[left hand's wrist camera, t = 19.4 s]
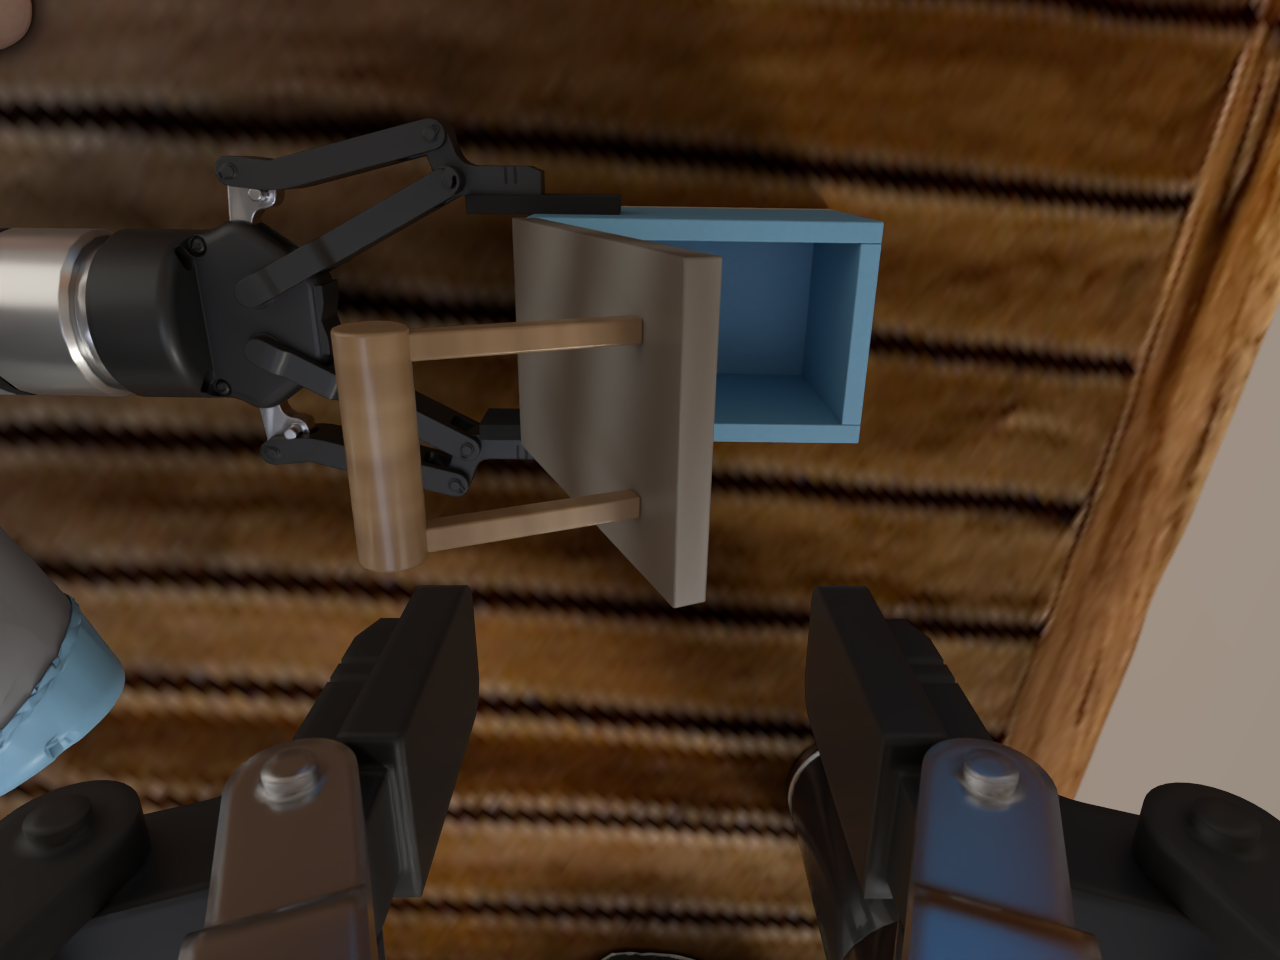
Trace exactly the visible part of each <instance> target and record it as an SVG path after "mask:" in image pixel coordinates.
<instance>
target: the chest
mask: <svg viewBox="0 0 1280 960" xmlns="http://www.w3.org/2000/svg"><path fill="white" fill-rule="evenodd" d="M527 218H540V219H545V220H550V221H555V222H559V223H564V224H569V225H574V226H579V227H583V228H588V229H593V230H598V231H602V232H607V233H612V234H617V235H622V236H626V237H631V238H636V239H641V240H645V241H650V242H655V243H660V244H665V245H669V246H674V247H679V248H684V249H688V250H693V251H698V252H703V253H708V254H712V255H717V256H721V257H722V274H721V295H720V315H719V336H718V356H717V377H716V397H715V418H714V438H713V441H726V442H806V443H858V441H859V432H860V423H861V414H862V406H863V397H864V389H865V380H866V372H867V363H868V354H869V346H870V337H871V329H872V320H873V312H874V303H875V294H876V286H877V277H878V269H879V260H880V252H881V244H880V243H881V242H882V233H883V225H884V223H883V222H881V221H877V220H872V219H868V218H864V217H860V216H855V215H851V214H847V213H842V212H838V211H834V210H832V209H798V208H730V207H661V206H621V213H620V215H577V214H533V215H531V216H528V217H527Z"/></svg>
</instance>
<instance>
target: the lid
mask: <svg viewBox="0 0 1280 960" xmlns="http://www.w3.org/2000/svg"><path fill="white" fill-rule="evenodd" d="M512 230H513V254H514V279H515V303H516V322H508V323H492V324H476V325H459V326H443V327H427V328H410V329H409V328H408V326H407V325H406V324H403V323H399V322H393V321H359V322H351V323H345V324H341V325H338V326H335V327H333V328H332V329H331V332H330V333H331V341H332V349H333V357H334V365H335V373H336V381H337V390H338V398H339V406H340V414H341V422H342V430H343V438H344V446H345V454H346V462H347V470H348V479H349V487H350V495H351V503H352V511H353V519H354V527H355V535H356V543H357V551H358V559H359V563H360V564H361V566H362V567H363V568H365V569H367V570H369V571H373V572H380V573H392V572H400V571H405V570H408V569H411V568H414V567H416V566H418V565H420V564H422V563H423V562H424V561H425V560H426V559H427V557H428V554H429V552H434V551H440V550H446V549H452V548H458V547H464V546H470V545H476V544H482V543H489V542H495V541H501V540H507V539H513V538H519V537H525V536H531V535H537V534H543V533H549V532H555V531H561V530H568V529H574V528H580V527H586V526H592V525H597V526H598V528H599V529H600V530H601V531H602V532H603V533H604V534H605V535H606V536H607V537H608V538H609V539H610V540H611V542H612V543H613V544H614V545H615V546H616V547H617V548H618V549H619V550H620V551H621V552H622V553H623V554H624V555H625V557H626V558H627V559H628V560H629V561H630V562H631V563H632V564H633V565H634V566H635V567H636V568H637V569H638V571H639V572H640V573H641V574H642V575H643V576H644V577H645V578H646V579H647V580H648V581H649V582H650V583H651V585H652V586H653V587H654V588H655V589H656V590H657V591H658V592H659V593H660V594H661V595H662V596H663V597H664V599H665V600H666V601H667V602H668V603H669V604H670V605H671V606H672V607H673V608H678V607H683V606H688V605H692V604H697V603H702V602H705V600H706V581H707V561H708V540H709V520H710V499H711V479H712V458H713V438H714V418H715V397H716V377H717V356H718V336H719V315H720V295H721V274H722V257H721V256H717V255H712V254H708V253H703V252H698V251H693V250H688V249H684V248H679V247H674V246H669V245H665V244H660V243H655V242H650V241H645V240H641V239H636V238H631V237H626V236H622V235H617V234H612V233H607V232H602V231H598V230H593V229H588V228H583V227H579V226H574V225H569V224H564V223H559V222H555V221H550V220H545V219H540V218H512ZM505 354H518V376H519V401H520V425H521V444H522V446H523V447H524V448H525V449H526V450H527V451H528V452H529V453H530V454H531V455H532V456H533V458H534V459H535V460H536V461H537V462H538V463H539V464H540V465H541V466H542V467H543V468H544V469H545V470H546V472H547V473H548V474H549V475H550V476H551V477H552V478H553V479H554V480H555V481H556V482H557V483H558V484H559V486H560V487H561V488H562V489H563V490H564V491H565V492H566V493H567V494H568V495H569V496H570V497H571V498H567V499H560V500H554V501H547V502H540V503H534V504H527V505H520V506H513V507H507V508H500V509H493V510H487V511H480V512H473V513H467V514H460V515H453V516H446V517H440V518H433V519H426V512H425V501H424V490H423V478H422V467H421V456H420V445H419V433H418V422H417V411H416V399H415V388H414V377H413V365H412V362H414V361H427V360H440V359H453V358H466V357H479V356H492V355H505Z"/></svg>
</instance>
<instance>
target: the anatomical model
mask: <svg viewBox="0 0 1280 960" xmlns="http://www.w3.org/2000/svg"><path fill="white" fill-rule="evenodd" d="M31 17H32V3H31V0H0V50H1V49H4V48H7V47H9V46H11V45H13V44H15V43H16V42H17V41H19V40H20V39H21V38H22V37H23V36H24V35H25V34H26V32H27V30H28V29H29V26H30V23H31Z"/></svg>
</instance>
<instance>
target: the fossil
mask: <svg viewBox="0 0 1280 960" xmlns="http://www.w3.org/2000/svg"><path fill="white" fill-rule="evenodd" d="M602 960H694V959H690V958H686V957H683V956H678V955H673V954H660V953H637V952H623V953H611V954H609V955H608V956H606V957H605V958H603V959H602Z"/></svg>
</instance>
